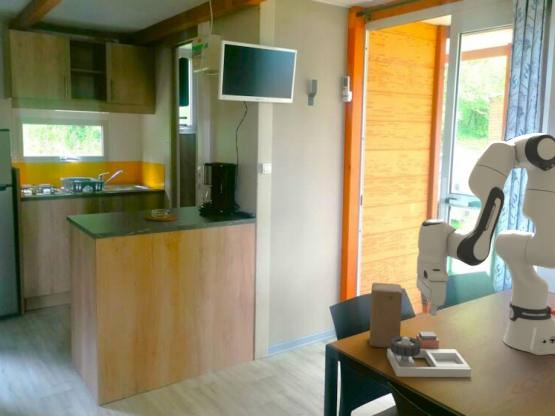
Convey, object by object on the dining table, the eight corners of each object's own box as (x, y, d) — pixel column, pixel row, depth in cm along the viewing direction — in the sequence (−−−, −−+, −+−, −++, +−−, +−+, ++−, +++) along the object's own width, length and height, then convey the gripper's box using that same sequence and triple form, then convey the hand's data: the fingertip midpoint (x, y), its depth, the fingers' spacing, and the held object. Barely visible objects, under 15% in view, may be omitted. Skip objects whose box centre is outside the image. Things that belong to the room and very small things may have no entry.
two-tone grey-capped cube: (433, 348, 176) (434, 331, 175) (438, 355, 171) (439, 337, 170) (415, 348, 176) (416, 331, 175) (419, 354, 171) (420, 336, 170)
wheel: (415, 344, 166) (416, 336, 166) (423, 356, 157) (423, 347, 157) (388, 344, 166) (388, 336, 166) (394, 356, 157) (394, 347, 157)
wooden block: (399, 349, 174) (402, 292, 172) (369, 347, 176) (371, 290, 174) (398, 338, 184) (401, 283, 181) (370, 336, 186) (372, 281, 183)
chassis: (454, 356, 170) (456, 330, 168) (470, 377, 155) (472, 348, 154) (387, 355, 170) (388, 329, 168) (396, 376, 155) (398, 347, 154)
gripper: (413, 261, 180) (410, 299, 182) (429, 277, 159) (427, 320, 161) (431, 261, 180) (429, 300, 182) (450, 277, 159) (447, 320, 161)
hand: (428, 310), depth 171 cm, fingers open, 8 cm apart
